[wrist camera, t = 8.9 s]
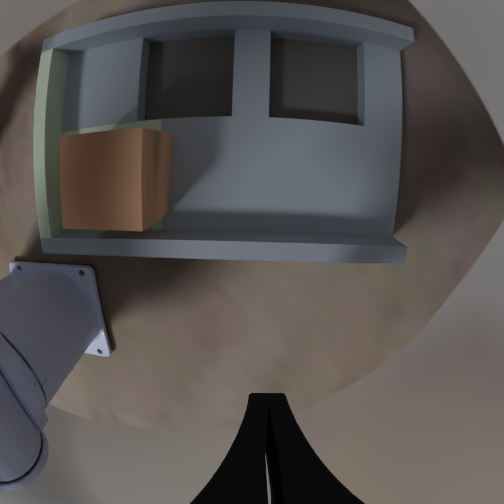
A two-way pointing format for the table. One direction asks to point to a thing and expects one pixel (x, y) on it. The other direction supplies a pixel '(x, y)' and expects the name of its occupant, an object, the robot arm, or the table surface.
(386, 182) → the tray
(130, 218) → the block
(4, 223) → the table surface
